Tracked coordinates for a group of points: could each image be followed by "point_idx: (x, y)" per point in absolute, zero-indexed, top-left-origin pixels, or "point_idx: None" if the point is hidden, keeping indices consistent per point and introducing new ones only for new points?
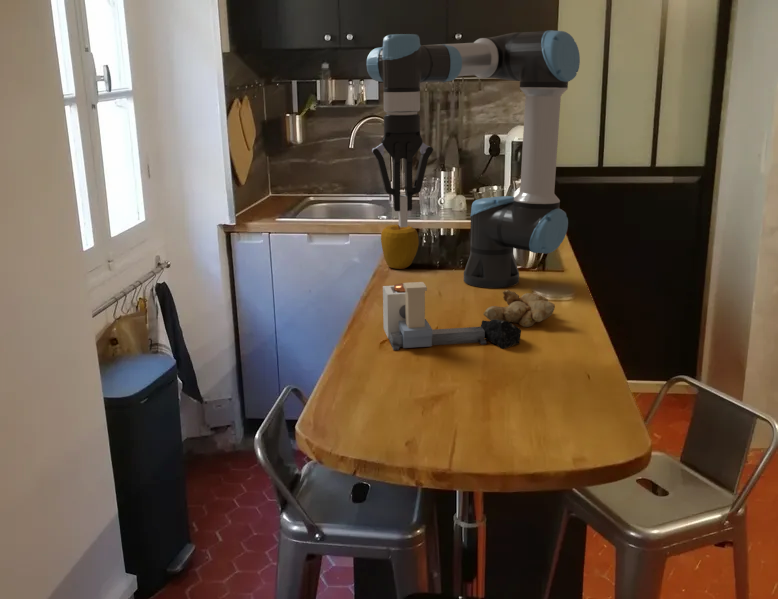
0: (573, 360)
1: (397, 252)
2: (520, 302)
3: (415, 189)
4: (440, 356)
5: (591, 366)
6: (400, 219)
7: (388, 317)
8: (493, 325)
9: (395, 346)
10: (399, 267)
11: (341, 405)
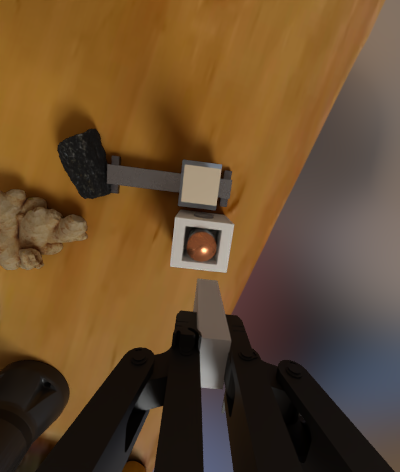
0: (20, 58)
1: None
2: (25, 229)
3: (152, 362)
4: (182, 131)
5: (3, 27)
6: (219, 293)
7: (227, 218)
8: (93, 151)
9: (229, 171)
10: (134, 462)
11: (346, 4)
